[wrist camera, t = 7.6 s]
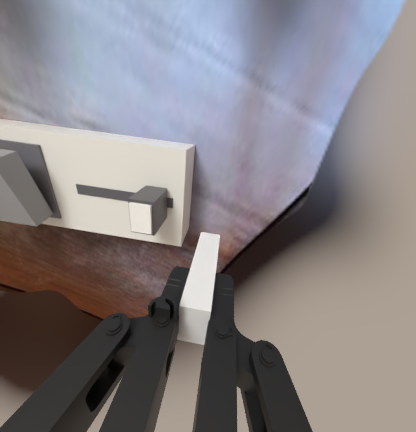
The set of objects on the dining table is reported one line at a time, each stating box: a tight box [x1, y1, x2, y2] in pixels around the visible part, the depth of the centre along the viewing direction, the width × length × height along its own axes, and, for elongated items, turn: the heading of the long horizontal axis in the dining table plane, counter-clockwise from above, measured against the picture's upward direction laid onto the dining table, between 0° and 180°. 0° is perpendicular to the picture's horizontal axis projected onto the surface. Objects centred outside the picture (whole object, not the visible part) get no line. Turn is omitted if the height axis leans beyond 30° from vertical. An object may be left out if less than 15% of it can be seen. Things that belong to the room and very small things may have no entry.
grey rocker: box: [0, 149, 53, 226], centre depth 20 cm, size 5×8×2 cm, turn 173°
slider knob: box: [128, 185, 167, 236], centre depth 19 cm, size 2×4×4 cm, turn 173°
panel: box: [0, 119, 195, 246], centre depth 24 cm, size 30×12×5 cm, turn 83°
